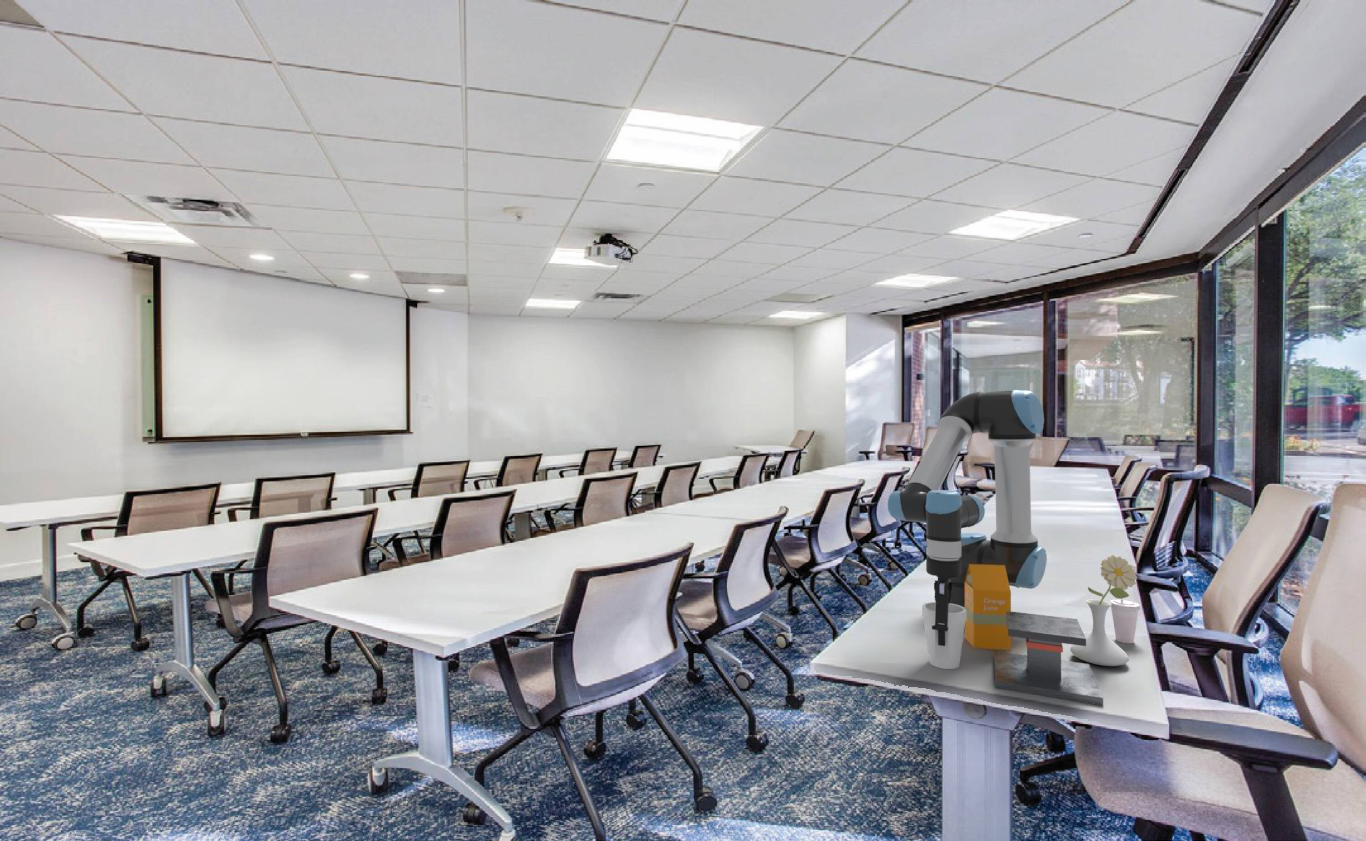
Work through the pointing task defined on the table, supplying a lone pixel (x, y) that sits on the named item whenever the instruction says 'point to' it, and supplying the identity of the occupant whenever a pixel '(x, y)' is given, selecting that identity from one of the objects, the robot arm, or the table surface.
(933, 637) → the foam cup
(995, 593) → the orange juice
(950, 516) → the robot arm
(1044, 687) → the stand
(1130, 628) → the smoothie
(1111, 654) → the flower in vase
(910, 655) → the table surface
